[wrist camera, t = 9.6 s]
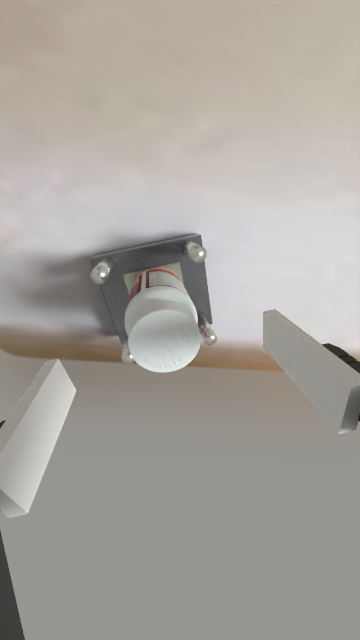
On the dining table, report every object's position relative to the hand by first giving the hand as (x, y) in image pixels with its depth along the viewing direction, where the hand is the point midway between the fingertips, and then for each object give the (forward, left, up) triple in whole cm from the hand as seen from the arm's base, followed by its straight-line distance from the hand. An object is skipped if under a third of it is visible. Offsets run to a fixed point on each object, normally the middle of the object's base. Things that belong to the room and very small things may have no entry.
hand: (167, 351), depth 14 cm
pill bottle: (0, 0, -13) cm, 13 cm away
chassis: (0, 0, -15) cm, 15 cm away
